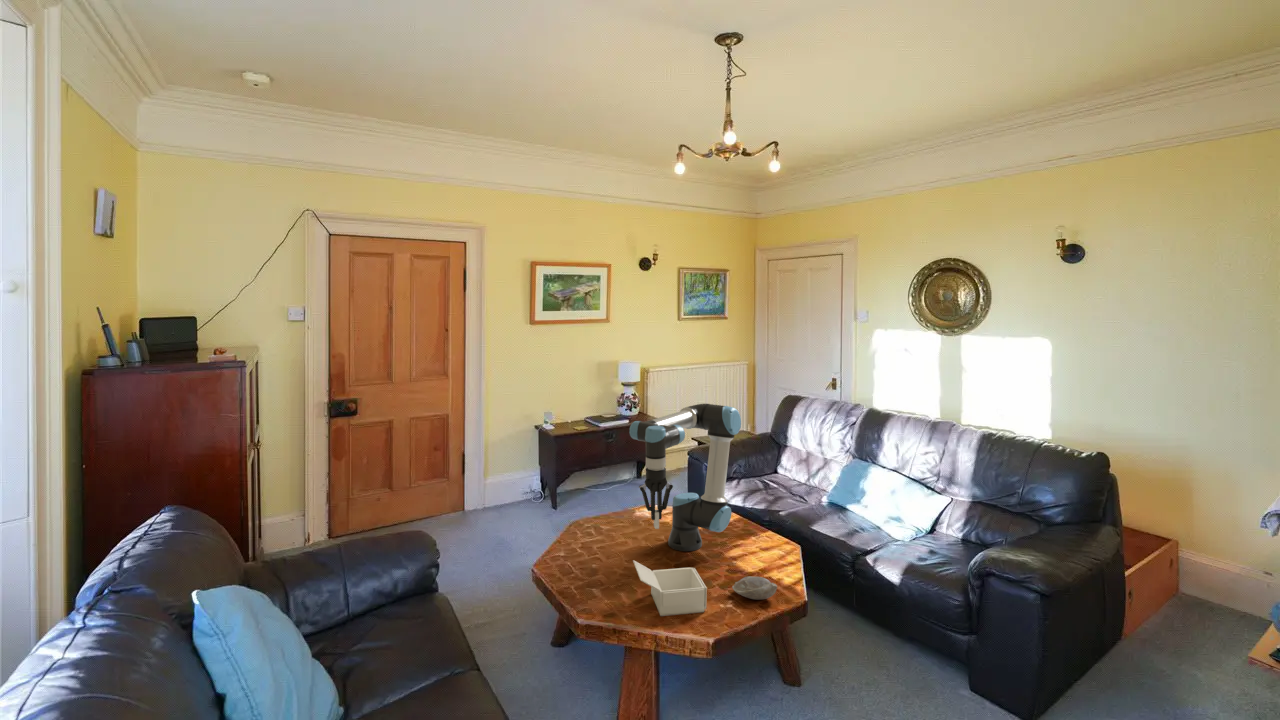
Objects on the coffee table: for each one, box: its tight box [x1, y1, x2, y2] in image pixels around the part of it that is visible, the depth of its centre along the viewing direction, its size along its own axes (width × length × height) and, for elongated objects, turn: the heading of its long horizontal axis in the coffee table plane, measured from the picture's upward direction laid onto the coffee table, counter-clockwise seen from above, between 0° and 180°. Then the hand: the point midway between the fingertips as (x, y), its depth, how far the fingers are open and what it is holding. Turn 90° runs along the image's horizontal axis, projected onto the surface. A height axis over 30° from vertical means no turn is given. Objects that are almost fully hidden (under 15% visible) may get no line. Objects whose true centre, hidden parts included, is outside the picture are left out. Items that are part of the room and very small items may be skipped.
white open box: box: [650, 567, 708, 617], centre depth 218 cm, size 17×18×9 cm
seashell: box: [731, 575, 778, 600], centre depth 222 cm, size 9×12×15 cm
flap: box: [632, 559, 660, 591], centre depth 215 cm, size 8×16×1 cm
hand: (656, 527), depth 227 cm, fingers closed
